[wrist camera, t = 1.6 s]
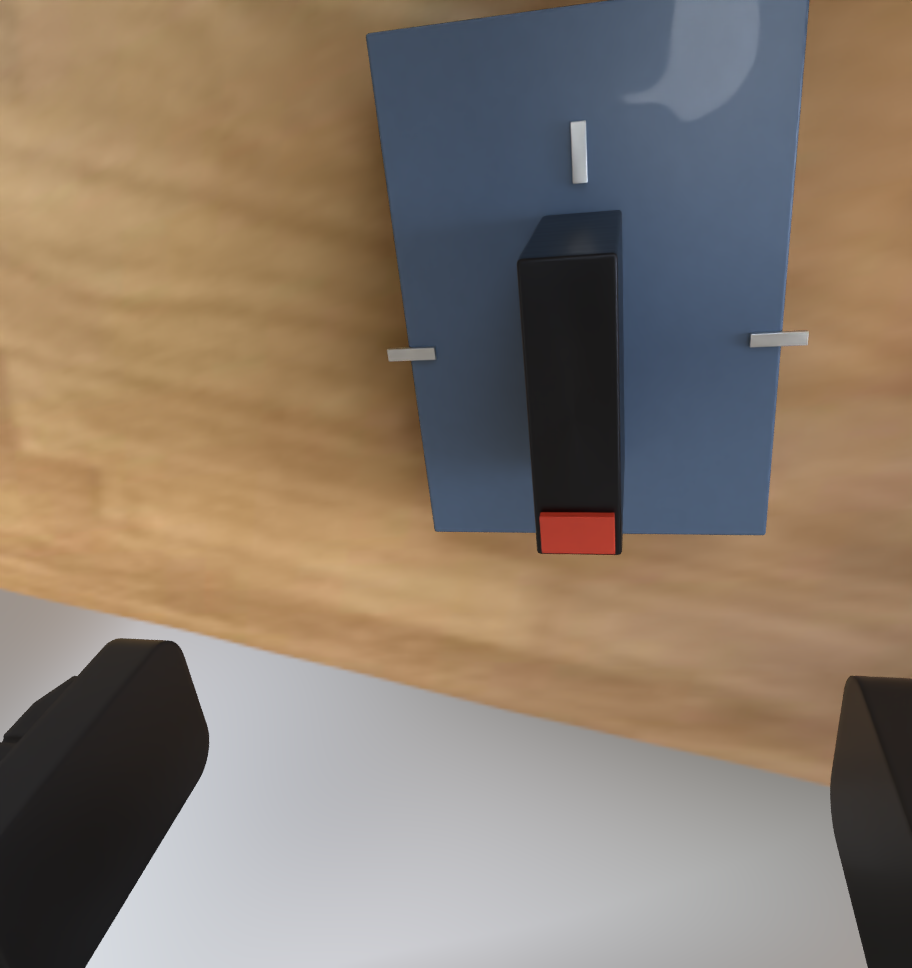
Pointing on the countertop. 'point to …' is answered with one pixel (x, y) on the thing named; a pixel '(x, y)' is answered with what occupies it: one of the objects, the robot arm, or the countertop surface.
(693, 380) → the rotary switch base
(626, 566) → the countertop surface
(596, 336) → the black and red block
